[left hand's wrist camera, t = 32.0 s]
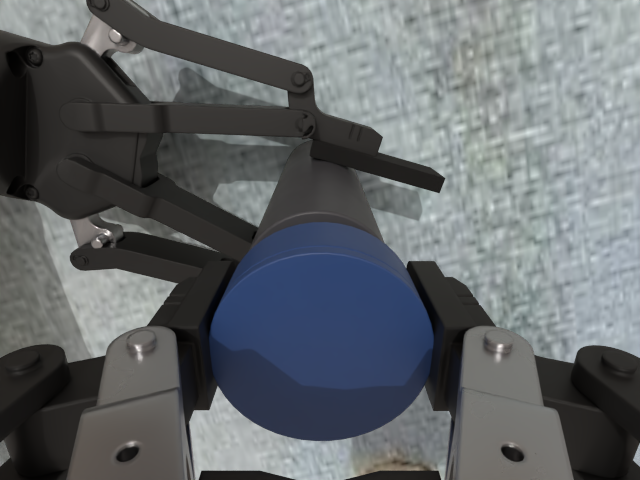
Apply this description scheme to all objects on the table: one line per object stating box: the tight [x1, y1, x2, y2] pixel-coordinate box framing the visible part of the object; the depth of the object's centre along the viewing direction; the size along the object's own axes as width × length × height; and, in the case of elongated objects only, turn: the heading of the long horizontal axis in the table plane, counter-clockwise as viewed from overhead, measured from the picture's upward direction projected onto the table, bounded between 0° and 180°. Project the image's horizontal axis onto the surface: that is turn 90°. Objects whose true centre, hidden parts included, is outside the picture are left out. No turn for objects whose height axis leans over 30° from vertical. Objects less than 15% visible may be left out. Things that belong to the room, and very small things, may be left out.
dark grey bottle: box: [248, 140, 384, 252], centre depth 19 cm, size 5×5×18 cm
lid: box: [209, 222, 434, 441], centre depth 10 cm, size 5×5×2 cm
